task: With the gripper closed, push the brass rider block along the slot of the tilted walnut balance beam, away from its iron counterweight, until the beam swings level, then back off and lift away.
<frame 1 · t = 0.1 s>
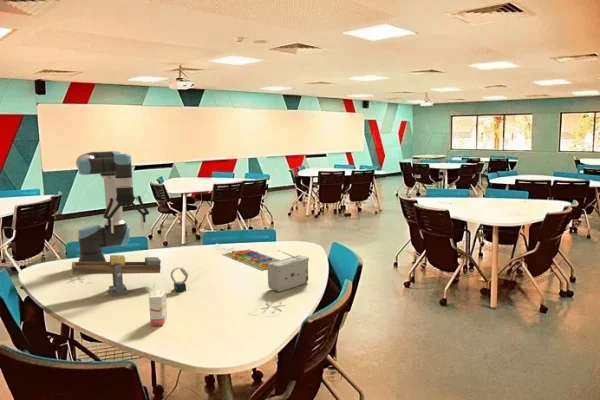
hand: (127, 230, 220), 28 cm above the table, tool pointing down, fingers open, 13 cm apart
stereo radio cassette player: (289, 286, 222), on the table
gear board: (255, 260, 272), on the table
ink cartridge box: (159, 322, 182), on the table
brass rider: (116, 267, 217), point 12 cm above the table, tilted 9°, touching balance beam
balance beam: (117, 264, 217), point 13 cm above the table, hinge at -8.5°, touching brass rider
pivot stand: (118, 291, 219), on the table
watch: (180, 290, 220), on the table
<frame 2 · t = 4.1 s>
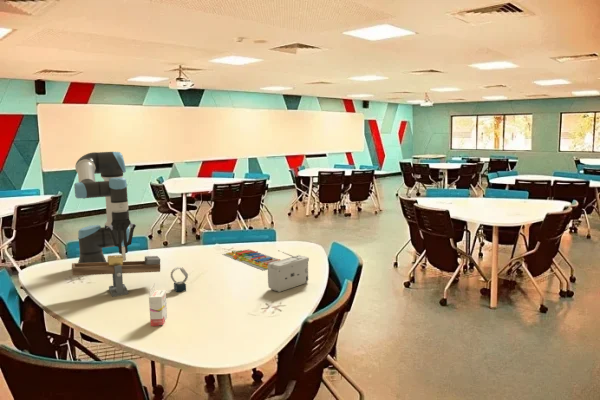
hand: (123, 260, 218), 15 cm above the table, tool pointing down, fingers closed
brass rider: (114, 267, 217), point 12 cm above the table, tilted 7°, touching balance beam, gripper
balance beam: (117, 264, 217), point 13 cm above the table, hinge at -6.6°, touching brass rider
everything else where it was.
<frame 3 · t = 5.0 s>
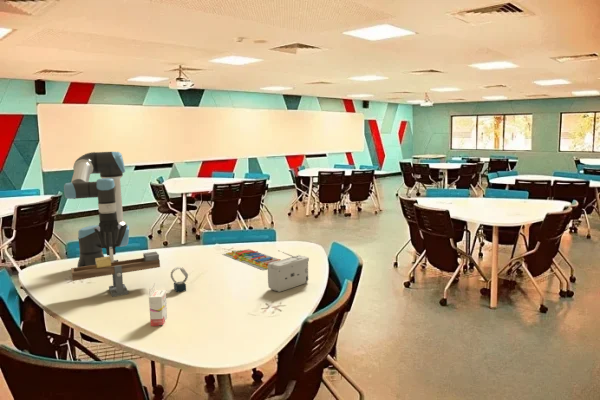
hand: (111, 261, 216), 15 cm above the table, tool pointing down, fingers closed
brass rider: (103, 269, 214), point 12 cm above the table, touching gripper
balance beam: (116, 265, 217), point 13 cm above the table, hinge at 0.3°
everything else where it was.
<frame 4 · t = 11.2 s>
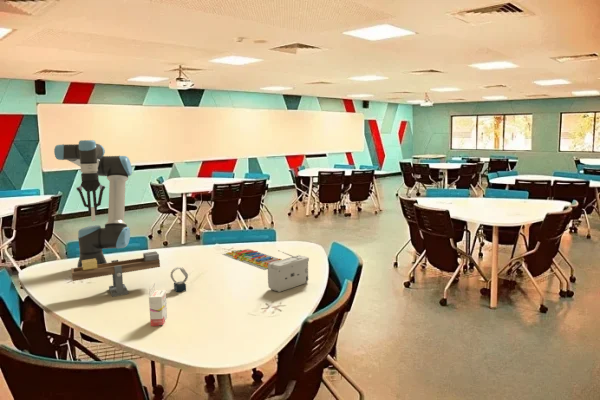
hand: (93, 220, 226), 32 cm above the table, tool pointing down, fingers closed
brass rider: (90, 271, 211), point 12 cm above the table, touching balance beam
balance beam: (116, 265, 217), point 13 cm above the table, hinge at 0.7°, touching brass rider
at the end: balance beam at +1° (first picture: -9°); brass rider inside the target area on the balance beam (1.1 cm from its centre), point 1.9 cm above the balance beam's base; the gripper is holding nothing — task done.
